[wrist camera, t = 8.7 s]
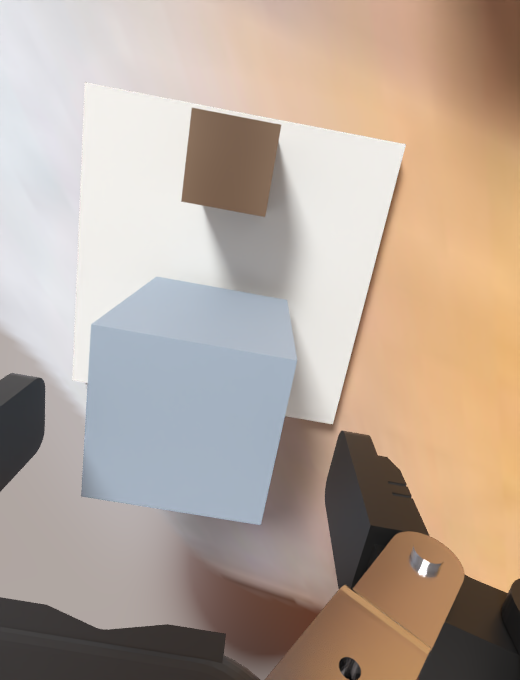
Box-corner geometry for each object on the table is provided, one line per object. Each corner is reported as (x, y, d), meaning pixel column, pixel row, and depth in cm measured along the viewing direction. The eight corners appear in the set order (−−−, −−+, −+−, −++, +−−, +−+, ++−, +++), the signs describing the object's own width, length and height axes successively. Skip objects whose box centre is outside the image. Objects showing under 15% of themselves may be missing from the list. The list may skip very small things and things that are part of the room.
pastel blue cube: (287, 300, 17) (297, 360, 11) (263, 415, 19) (260, 525, 13) (156, 276, 17) (91, 324, 11) (144, 395, 19) (81, 496, 12)
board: (398, 147, 17) (405, 144, 16) (329, 414, 21) (332, 424, 20) (95, 88, 17) (84, 82, 16) (81, 371, 21) (72, 380, 20)
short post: (278, 140, 16) (281, 125, 13) (266, 211, 17) (265, 217, 13) (210, 127, 16) (192, 107, 12) (200, 199, 17) (181, 201, 13)
